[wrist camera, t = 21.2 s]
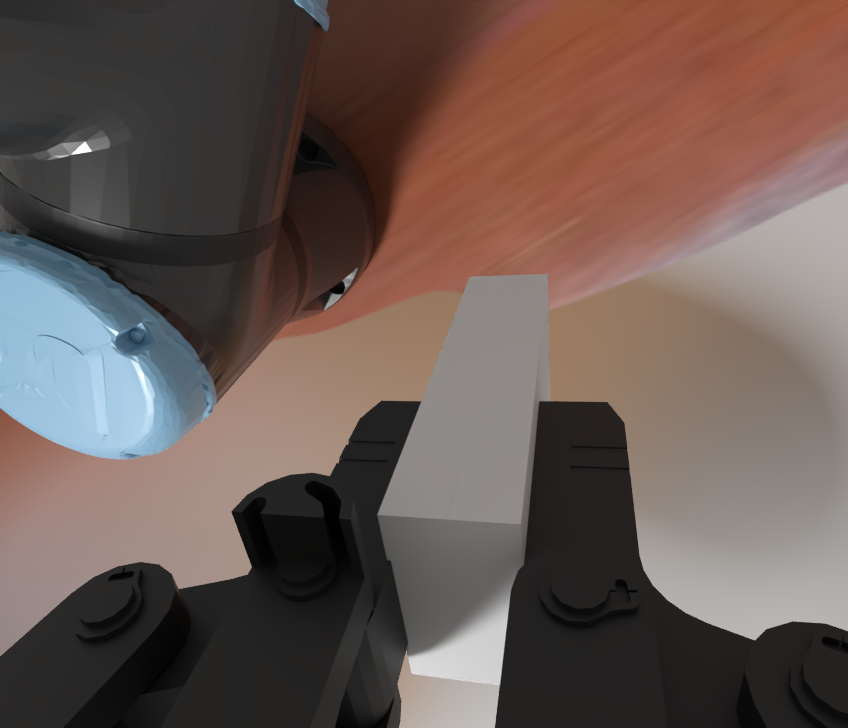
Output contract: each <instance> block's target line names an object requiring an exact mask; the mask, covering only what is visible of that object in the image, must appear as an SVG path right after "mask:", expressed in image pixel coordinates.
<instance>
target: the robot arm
mask: <svg viewBox="0 0 848 728" xmlns="http://www.w3.org/2000/svg"><path fill="white" fill-rule="evenodd" d="M327 4H328V0H0V408H1V409H2V410H4V411H5V412H6V413H7V414H9V415H10V416H11V417H13V418H14V419H16V420H17V421H18V422H20V423H21V424H23V425H24V426H26V427H28V428H29V429H31V430H32V431H34V432H36V433H38V434H40V435H41V436H43V437H45V438H47V439H49V440H51V441H53V442H56V443H58V444H60V445H62V446H65V447H67V448H70V449H73V450H76V451H79V452H82V453H85V454H88V455H93V456H97V457H102V458H110V459H131V458H138V457H141V456H143V455H154V454H157V453H160V452H162V451H164V450H166V449H167V448H169V447H170V446H172V445H174V444H175V443H176V442H177V441H178V440H180V439H181V438H182V437H183V436H184V435H185V434H186V433H187V432H189V431H190V430H191V429H192V428H193V427H194V426H196V425H197V424H199V423H201V421H204V420H205V419H206V418H207V417H208V416H209V415H210V414H211V413H212V411H213V408H214V405H215V404H216V403H217V402H218V401H219V400H220V399H221V398H222V396H223V395H224V394H225V393H226V392H227V391H228V390H229V389H230V387H231V386H232V385H233V384H234V383H235V382H236V381H237V379H238V378H239V377H240V376H241V375H242V374H243V373H244V372H245V370H246V369H247V368H248V367H249V366H250V364H251V363H252V362H253V361H254V360H255V359H256V358H257V357H258V356H259V354H260V353H261V352H262V351H263V350H264V349H265V348H266V347H267V345H268V344H269V343H270V342H271V341H272V340H273V339H274V337H275V336H276V335H277V334H278V333H279V332H280V331H281V330H282V328H283V327H284V326H285V325H286V324H289V323H292V322H295V321H298V320H301V319H305V318H308V317H311V316H314V315H316V314H319V313H321V312H323V311H325V310H327V309H328V308H330V307H332V306H333V305H334V304H336V303H337V302H339V301H340V300H341V299H342V298H343V297H344V296H345V295H346V294H347V293H348V292H349V291H350V289H351V288H352V287H353V286H354V284H355V283H356V282H357V280H358V279H359V278H360V276H361V275H362V273H363V272H364V270H365V268H366V266H367V264H368V262H369V259H370V257H371V254H372V250H373V246H374V240H375V227H376V223H375V211H374V205H373V200H372V196H371V193H370V190H369V187H368V184H367V182H366V179H365V177H364V175H363V173H362V171H361V169H360V167H359V165H358V164H357V162H356V160H355V159H354V157H353V156H352V155H351V153H350V152H349V151H348V149H347V148H346V147H345V146H344V145H343V143H342V142H341V141H340V140H339V139H338V138H337V137H336V136H335V135H334V134H333V133H332V132H330V131H329V130H328V129H327V128H326V127H324V126H323V125H322V124H320V123H319V122H317V121H316V120H314V119H313V118H311V117H309V116H307V115H305V114H306V109H307V105H308V100H309V96H310V91H311V87H312V82H313V77H314V73H315V68H316V64H317V59H318V55H319V50H320V45H321V41H322V36H323V32H324V31H327V32H328V28H329V24H330V20H329V15H328V13H327V11H326V10H327ZM232 515H233V517H234V519H235V523H236V525H237V528H238V531H239V533H240V536H241V538H242V541H243V544H244V547H245V549H246V552H247V555H248V557H249V560H250V563H251V565H252V568H251V570H250V572H249V574H248V575H245V576H241V577H237V578H234V579H230V580H225V581H220V582H215V583H210V584H205V585H199V586H194V587H188V588H183V589H178V587H177V585H176V583H175V581H174V579H173V576H172V574H171V573H169V572H168V571H167V570H165V569H164V568H163V567H161V566H160V565H157V564H150V563H143V562H139V563H134V564H128V565H123V566H118V567H116V568H113V569H111V570H109V571H107V572H104V573H102V574H100V575H98V576H95V577H94V578H92V579H91V580H89V581H88V582H87V583H85V584H84V585H82V586H81V587H80V588H78V589H77V590H76V591H74V592H73V593H71V594H70V595H69V596H68V597H67V598H66V599H65V600H63V601H62V602H61V603H60V604H59V605H58V606H57V607H56V608H54V609H53V610H52V611H51V612H50V613H49V614H48V615H47V616H46V617H44V618H43V619H42V620H41V621H40V622H39V623H38V624H36V625H35V626H34V627H33V628H32V629H31V630H30V631H29V632H27V633H26V634H25V635H24V636H23V637H22V638H21V639H20V640H18V641H17V642H16V643H15V644H14V645H13V646H12V647H11V648H9V649H8V650H7V651H6V652H5V653H4V654H3V655H1V656H0V728H399V724H400V716H401V715H400V714H401V698H400V694H399V690H398V685H397V683H398V679H399V675H400V672H401V668H402V664H403V660H404V656H405V653H406V650H407V655H408V659H409V664H410V668H411V673H412V674H416V675H424V676H431V677H439V678H447V679H454V680H463V681H470V682H478V683H486V684H493V685H500V690H499V698H498V706H497V715H496V724H495V728H848V631H845V630H842V629H839V628H836V627H833V626H830V625H828V624H822V623H805V622H790V623H787V624H783V625H780V626H777V627H773V628H770V629H766V630H765V632H763V634H761V635H760V636H759V638H757V639H756V640H752V639H749V638H746V637H744V636H741V635H738V634H735V633H732V632H730V631H727V630H724V629H721V628H719V627H716V626H713V625H711V624H708V623H705V622H704V621H701V620H699V619H697V618H695V617H693V616H691V615H689V614H686V613H685V612H683V611H682V610H681V609H679V608H678V607H676V606H675V605H673V604H672V603H670V602H669V601H667V600H666V599H665V598H664V596H663V595H662V594H661V593H660V592H659V591H658V590H657V589H656V588H655V587H654V586H652V583H651V582H650V580H649V578H648V577H647V575H646V573H645V572H644V570H643V567H642V563H641V560H640V556H639V548H638V540H637V531H636V521H635V513H634V504H633V495H632V486H631V477H630V473H629V460H628V452H627V442H626V434H625V425H624V422H623V421H622V420H621V418H620V417H619V416H618V415H617V414H616V412H615V411H614V410H613V409H612V407H611V406H610V405H609V404H608V402H558V401H554V402H553V401H552V402H551V401H550V354H549V314H548V274H532V275H504V276H475V277H470V278H469V280H468V283H467V285H466V288H465V290H464V293H463V296H462V298H461V301H460V303H459V306H458V309H457V311H456V314H455V316H454V319H453V321H452V324H451V326H450V329H449V332H448V334H447V337H446V339H445V342H444V345H443V347H442V350H441V352H440V355H439V357H438V360H437V363H436V365H435V368H434V370H433V373H432V376H431V378H430V381H429V383H428V386H427V388H426V391H425V393H424V396H423V399H422V401H421V402H419V401H381V402H380V403H378V404H377V405H376V406H375V407H373V408H372V409H371V410H370V411H369V412H367V413H366V414H365V415H364V416H363V417H362V418H360V420H359V421H358V423H357V425H356V427H355V429H354V431H353V433H352V435H351V437H350V439H349V444H348V445H346V446H345V448H344V450H343V452H342V454H341V456H340V458H339V463H337V464H336V466H335V468H334V469H333V471H332V474H331V475H330V476H326V475H321V474H316V473H306V474H295V475H289V476H286V477H282V478H280V479H277V480H274V481H271V482H268V483H266V484H264V485H263V486H261V487H260V488H258V489H256V490H255V491H253V492H251V493H250V494H248V495H247V496H246V497H245V498H244V499H243V500H242V501H241V502H240V503H239V504H238V505H237V506H236V507H235V508H234V509H233V511H232Z"/></svg>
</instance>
